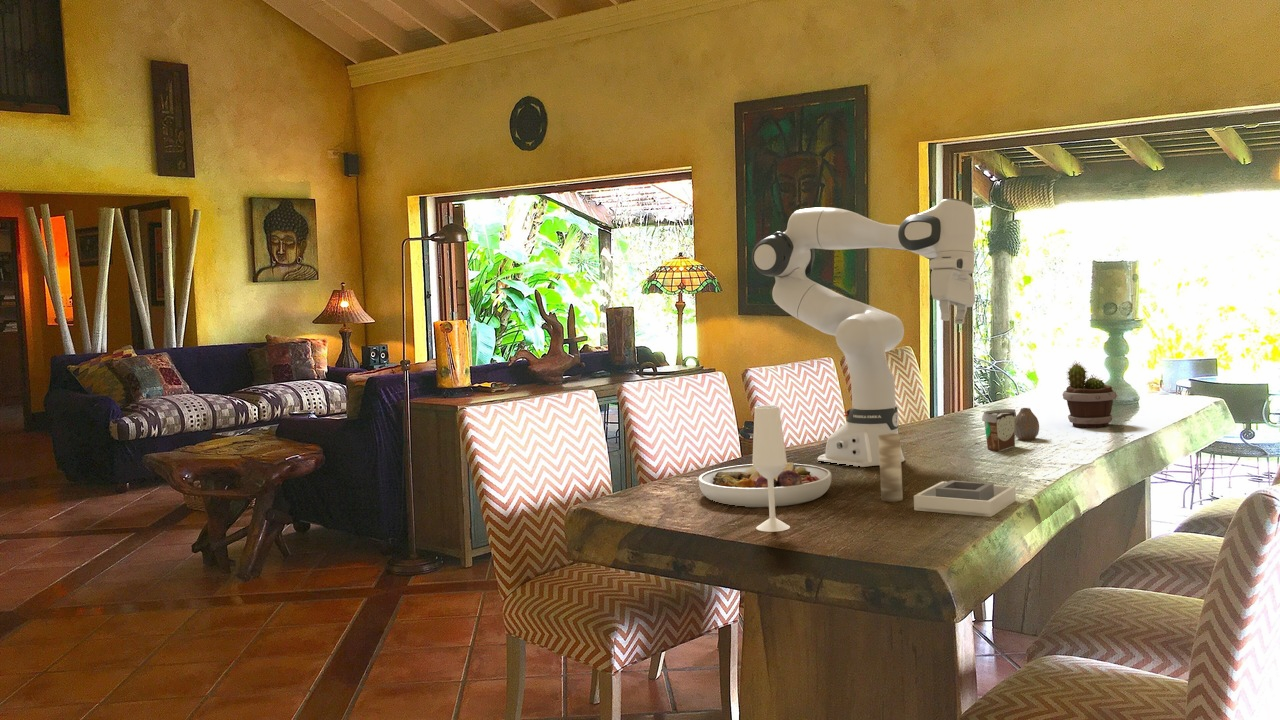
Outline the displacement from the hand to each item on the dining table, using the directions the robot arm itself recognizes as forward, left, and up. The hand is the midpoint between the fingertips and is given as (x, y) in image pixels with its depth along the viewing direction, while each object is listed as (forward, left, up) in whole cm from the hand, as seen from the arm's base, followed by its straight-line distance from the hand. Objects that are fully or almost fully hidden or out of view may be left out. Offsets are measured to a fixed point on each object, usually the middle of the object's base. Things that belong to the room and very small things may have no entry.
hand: (952, 322), depth 241 cm
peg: (-1, -37, -36) cm, 52 cm away
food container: (-1, +32, -36) cm, 48 cm away
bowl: (-29, -43, -37) cm, 64 cm away
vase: (+2, +49, -36) cm, 61 cm away
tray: (+15, -37, -36) cm, 54 cm away
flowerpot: (+12, +78, -36) cm, 87 cm away
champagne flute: (-12, -69, -36) cm, 79 cm away
